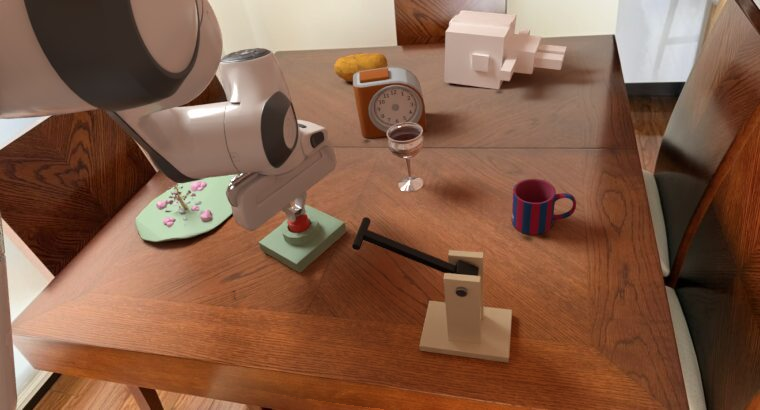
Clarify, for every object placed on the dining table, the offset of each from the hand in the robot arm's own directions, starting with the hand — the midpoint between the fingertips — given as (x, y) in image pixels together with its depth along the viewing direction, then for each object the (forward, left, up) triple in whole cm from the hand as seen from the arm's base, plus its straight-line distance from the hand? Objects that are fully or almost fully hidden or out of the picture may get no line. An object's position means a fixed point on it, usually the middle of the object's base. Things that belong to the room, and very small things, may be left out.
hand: (297, 216), depth 87 cm
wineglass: (+24, +1, -6) cm, 25 cm away
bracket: (+11, -33, -6) cm, 35 cm away
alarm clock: (+33, +22, -6) cm, 40 cm away
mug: (+35, -23, -6) cm, 42 cm away
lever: (+6, -28, +8) cm, 30 cm away
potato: (+40, +49, -6) cm, 64 cm away
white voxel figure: (+67, +23, -6) cm, 71 cm away
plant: (-14, +25, -6) cm, 30 cm away
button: (0, 0, -2) cm, 2 cm away
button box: (0, 0, -6) cm, 6 cm away
